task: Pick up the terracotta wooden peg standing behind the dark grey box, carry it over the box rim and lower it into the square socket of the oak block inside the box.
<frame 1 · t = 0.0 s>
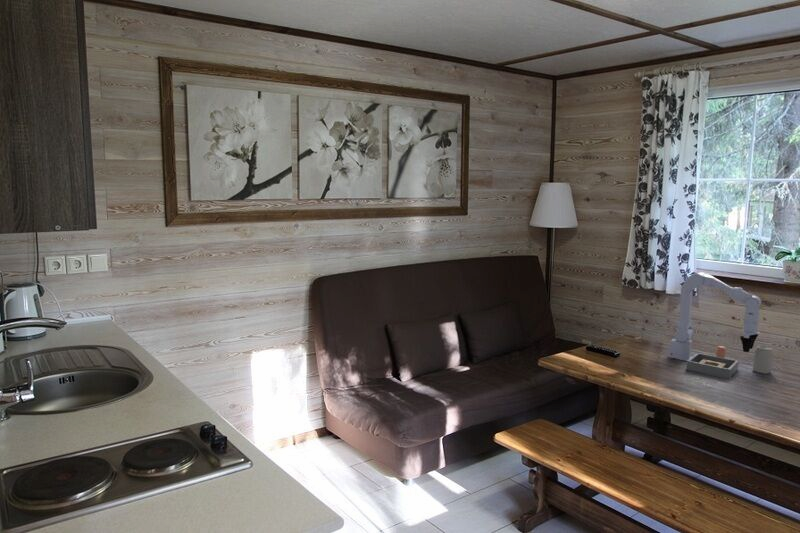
hand: (747, 350, 277), 10 cm above the table, tool pointing down, fingers open, 7 cm apart
can: (761, 372, 278), on the table
peg: (719, 362, 290), on the table
box: (712, 370, 279), on the table
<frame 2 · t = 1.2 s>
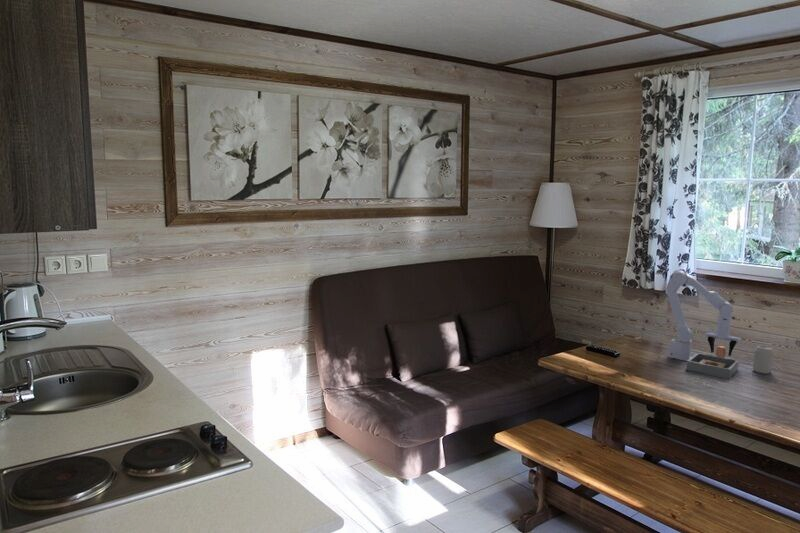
hand: (720, 353, 289), 5 cm above the table, tool pointing down, fingers open, 7 cm apart
nothing on the table moved.
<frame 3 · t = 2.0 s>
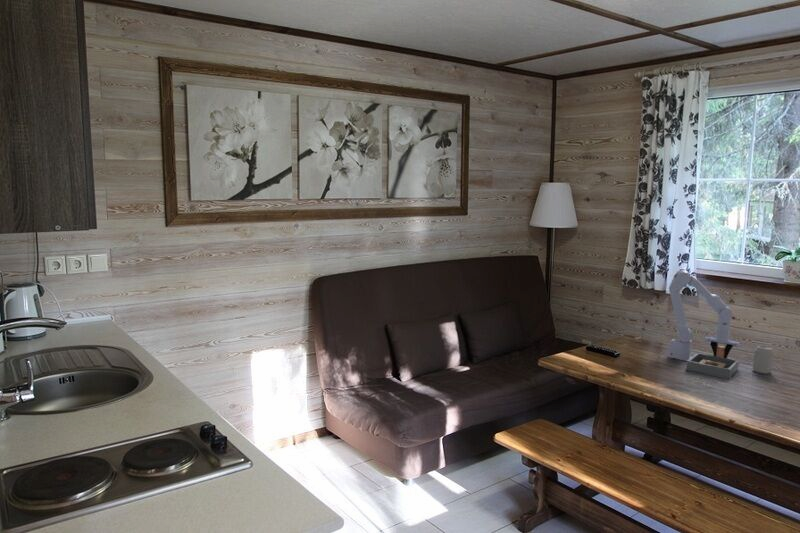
hand: (720, 358, 290), 2 cm above the table, tool pointing down, fingers closed on peg, 4 cm apart
peg: (719, 362, 290), on the table, touching gripper
everything else where it was.
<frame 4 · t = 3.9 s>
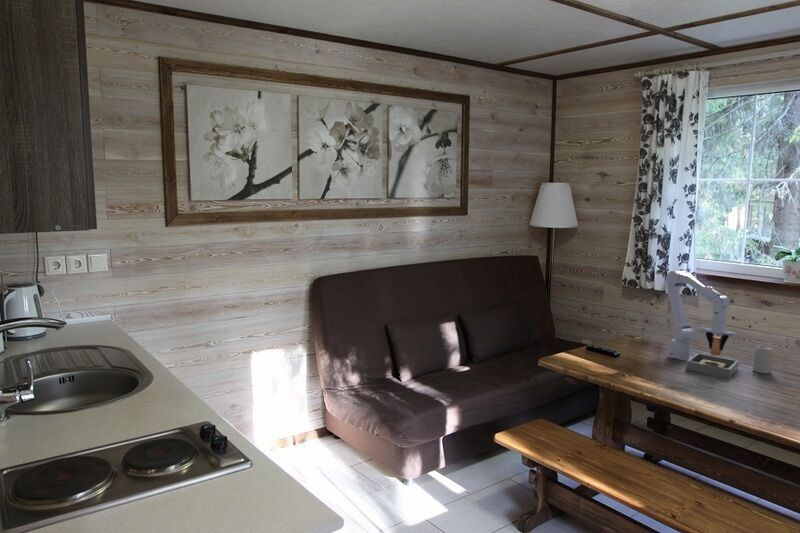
hand: (716, 349, 280), 9 cm above the table, tool pointing down, fingers closed on peg, 4 cm apart
peg: (715, 354, 280), point 7 cm above the table, touching gripper
everything else where it was.
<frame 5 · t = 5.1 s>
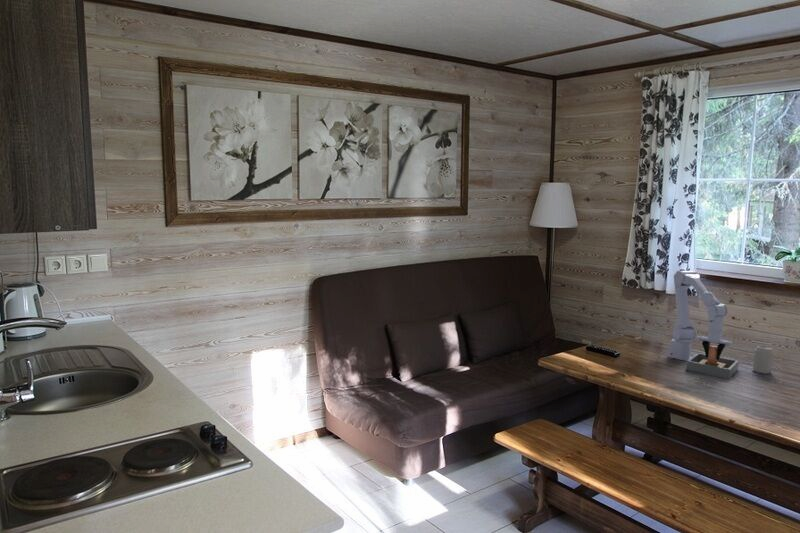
hand: (712, 358, 276), 6 cm above the table, tool pointing down, fingers closed on peg, 4 cm apart
peg: (711, 363, 277), point 4 cm above the table, touching gripper
everything else where it was.
when the fingers open (4 cm above the table, at t = 5.8 s): peg drops 1 cm, resting on box.
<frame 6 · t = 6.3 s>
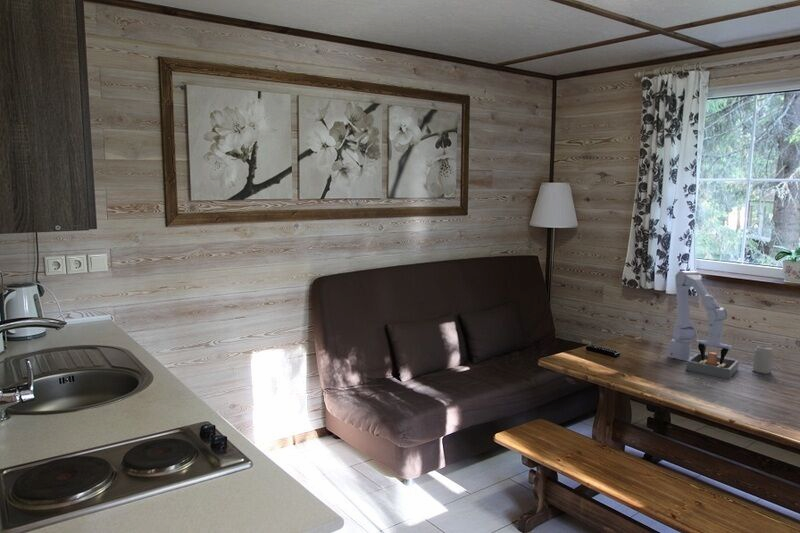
hand: (711, 362, 277), 4 cm above the table, tool pointing down, fingers open, 7 cm apart
peg: (711, 370, 277), point 1 cm above the table, touching box
everything else where it was.
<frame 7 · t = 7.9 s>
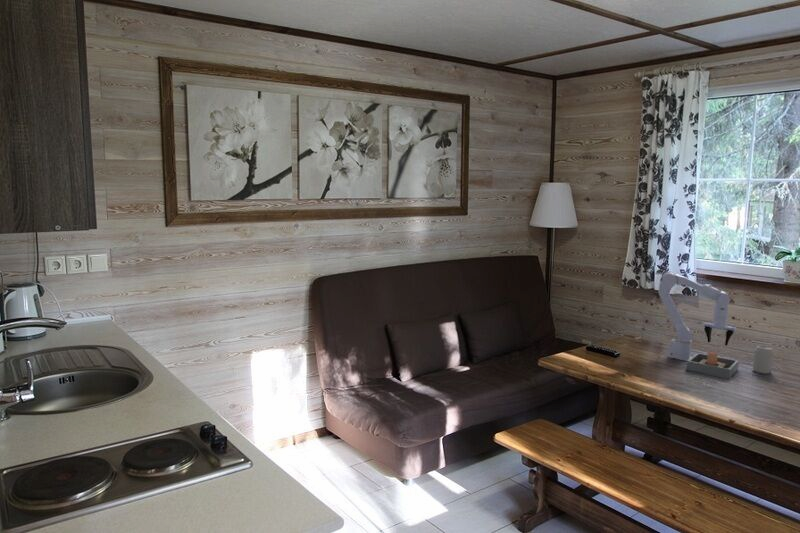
hand: (717, 343, 290), 9 cm above the table, tool pointing down, fingers open, 7 cm apart
nothing on the table moved.
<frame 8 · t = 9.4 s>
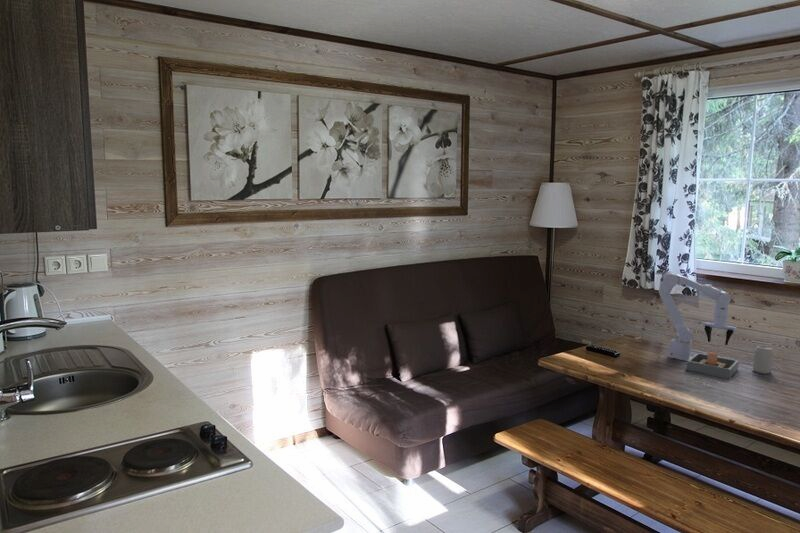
hand: (717, 343, 291), 9 cm above the table, tool pointing down, fingers open, 7 cm apart
nothing on the table moved.
at the end: peg 0.1 cm from the target spot on the box, point 0.5 cm above the box's base; peg tilted 0°; the gripper is holding nothing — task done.
